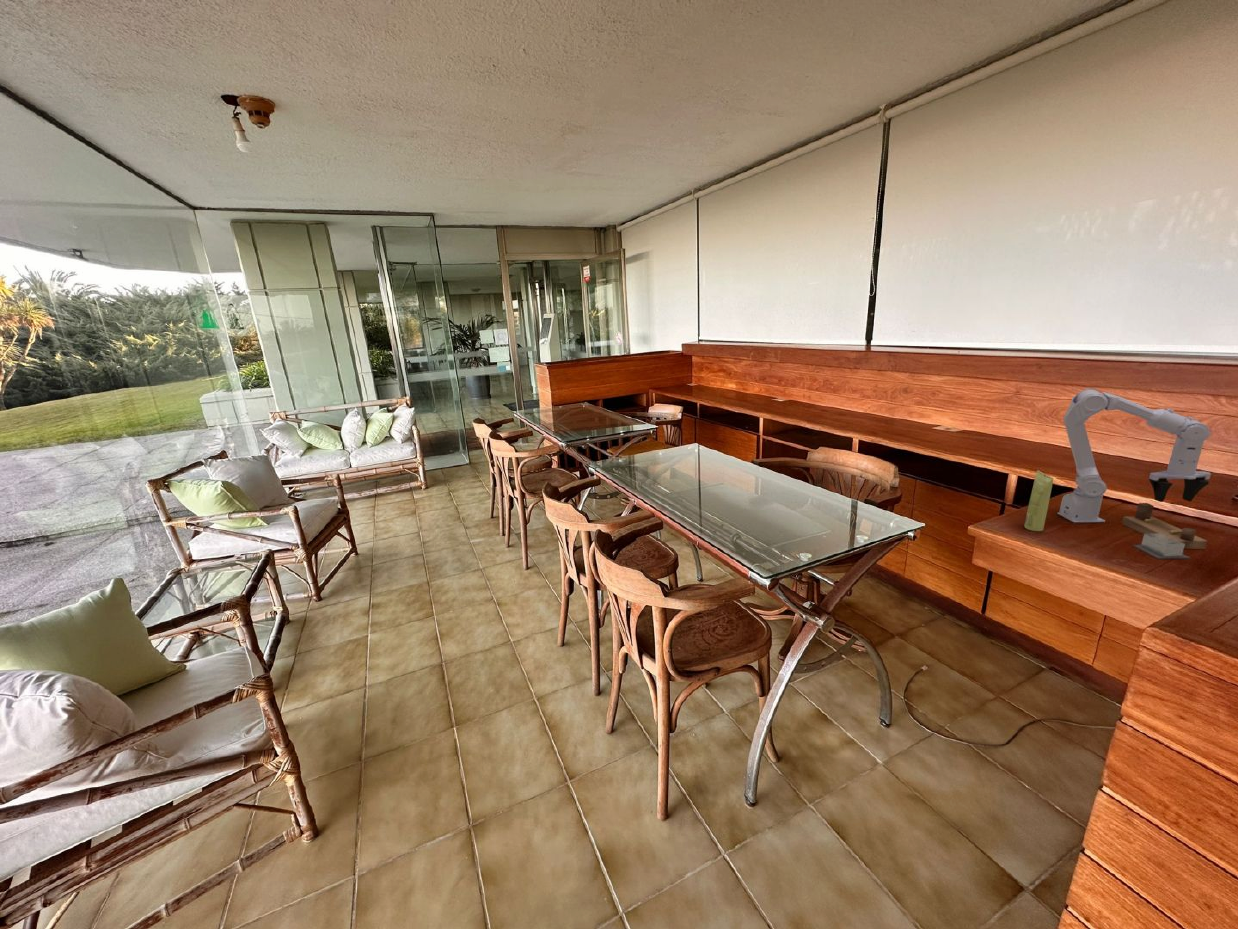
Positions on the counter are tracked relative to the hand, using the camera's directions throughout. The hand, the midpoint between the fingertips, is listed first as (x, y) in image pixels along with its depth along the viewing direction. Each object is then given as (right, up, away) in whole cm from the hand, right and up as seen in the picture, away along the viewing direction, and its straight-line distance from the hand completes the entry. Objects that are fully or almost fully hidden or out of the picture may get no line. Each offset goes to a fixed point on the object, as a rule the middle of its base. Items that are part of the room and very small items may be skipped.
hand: (1172, 500), depth 152 cm
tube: (-36, -10, +9) cm, 39 cm away
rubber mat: (-16, -14, -11) cm, 24 cm away
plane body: (-5, -11, -1) cm, 12 cm away
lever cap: (-16, -14, -11) cm, 24 cm away
